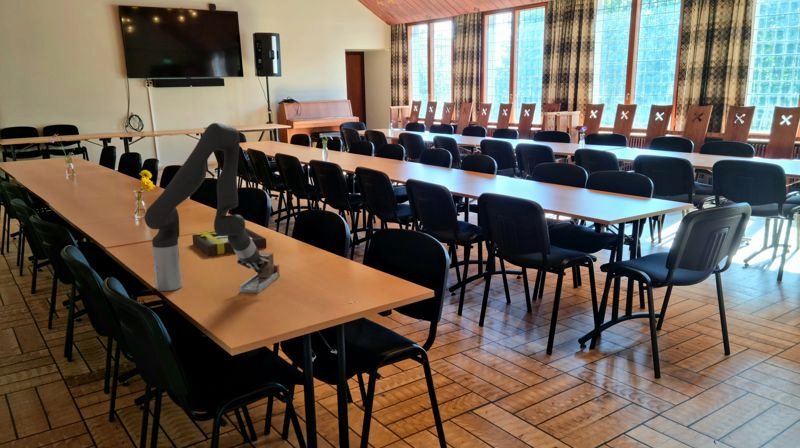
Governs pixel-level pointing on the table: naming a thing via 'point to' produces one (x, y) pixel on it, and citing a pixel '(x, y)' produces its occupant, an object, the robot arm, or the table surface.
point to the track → (259, 282)
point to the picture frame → (222, 242)
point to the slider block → (269, 267)
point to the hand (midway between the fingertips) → (260, 271)
